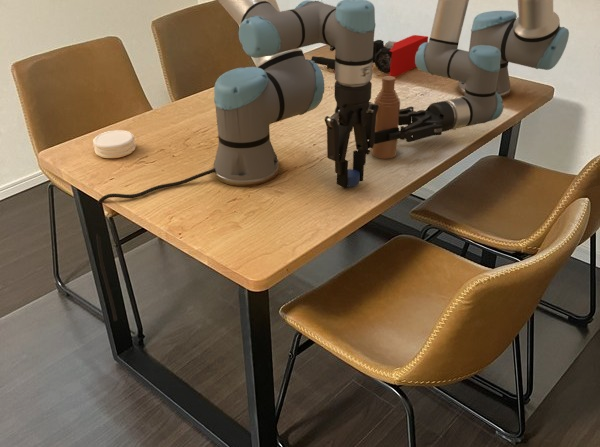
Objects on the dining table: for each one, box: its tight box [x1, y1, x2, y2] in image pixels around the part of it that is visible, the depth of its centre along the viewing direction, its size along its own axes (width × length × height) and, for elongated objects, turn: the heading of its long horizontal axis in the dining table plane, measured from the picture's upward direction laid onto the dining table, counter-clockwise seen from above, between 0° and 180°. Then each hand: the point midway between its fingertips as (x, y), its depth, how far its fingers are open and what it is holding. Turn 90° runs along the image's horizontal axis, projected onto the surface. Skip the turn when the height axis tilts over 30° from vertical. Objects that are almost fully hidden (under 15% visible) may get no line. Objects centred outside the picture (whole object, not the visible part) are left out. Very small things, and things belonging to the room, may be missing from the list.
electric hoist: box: [310, 34, 429, 78], centre depth 208 cm, size 10×27×30 cm
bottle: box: [371, 75, 401, 160], centre depth 148 cm, size 6×6×19 cm
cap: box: [347, 168, 360, 188], centre depth 137 cm, size 4×4×2 cm
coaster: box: [92, 129, 137, 159], centre depth 155 cm, size 10×10×4 cm
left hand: (349, 182), depth 138 cm, fingers open, 4 cm apart
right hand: (367, 132), depth 148 cm, fingers closed on bottle, 6 cm apart
